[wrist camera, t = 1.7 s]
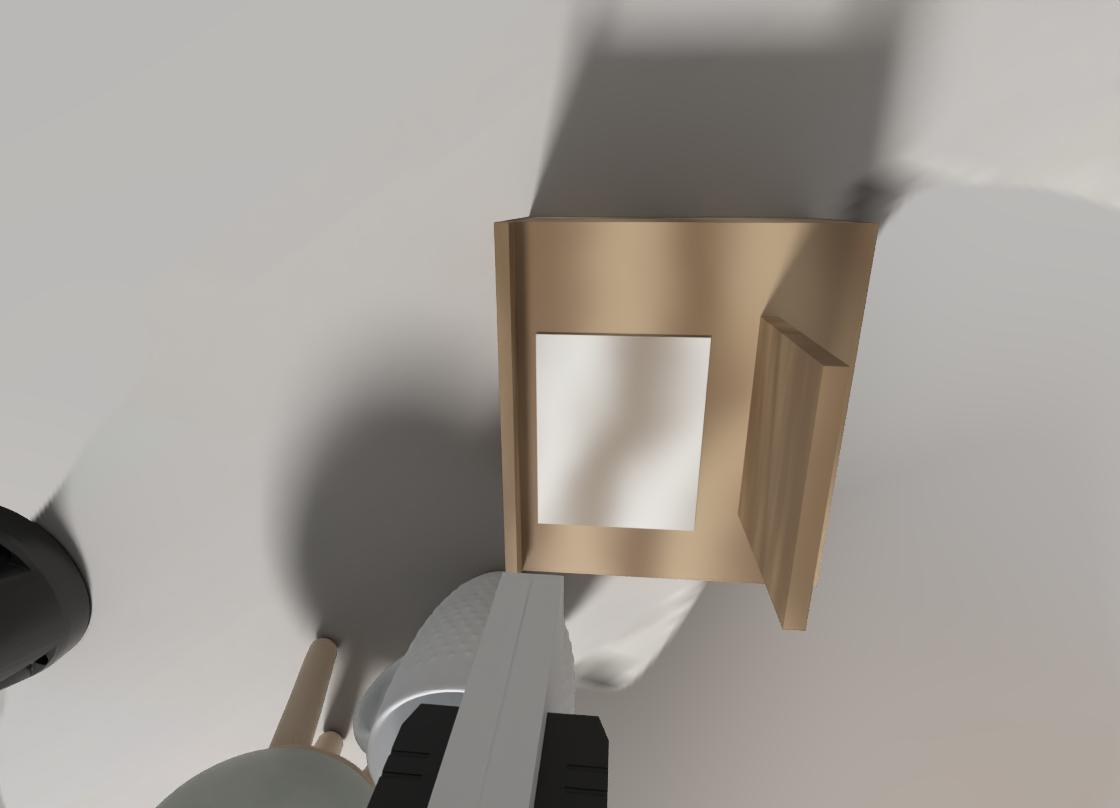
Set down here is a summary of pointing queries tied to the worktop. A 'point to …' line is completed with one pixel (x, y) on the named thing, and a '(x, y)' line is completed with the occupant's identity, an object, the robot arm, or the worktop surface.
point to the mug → (436, 670)
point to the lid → (677, 396)
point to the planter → (287, 758)
